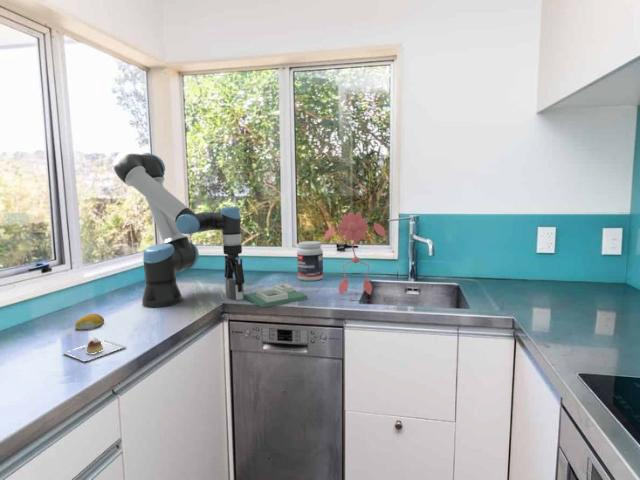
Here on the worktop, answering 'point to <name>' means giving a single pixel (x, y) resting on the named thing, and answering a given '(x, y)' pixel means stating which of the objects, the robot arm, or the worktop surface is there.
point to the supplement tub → (310, 261)
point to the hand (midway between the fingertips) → (235, 296)
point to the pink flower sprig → (354, 231)
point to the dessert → (95, 347)
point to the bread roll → (89, 322)
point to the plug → (231, 288)
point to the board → (275, 296)
